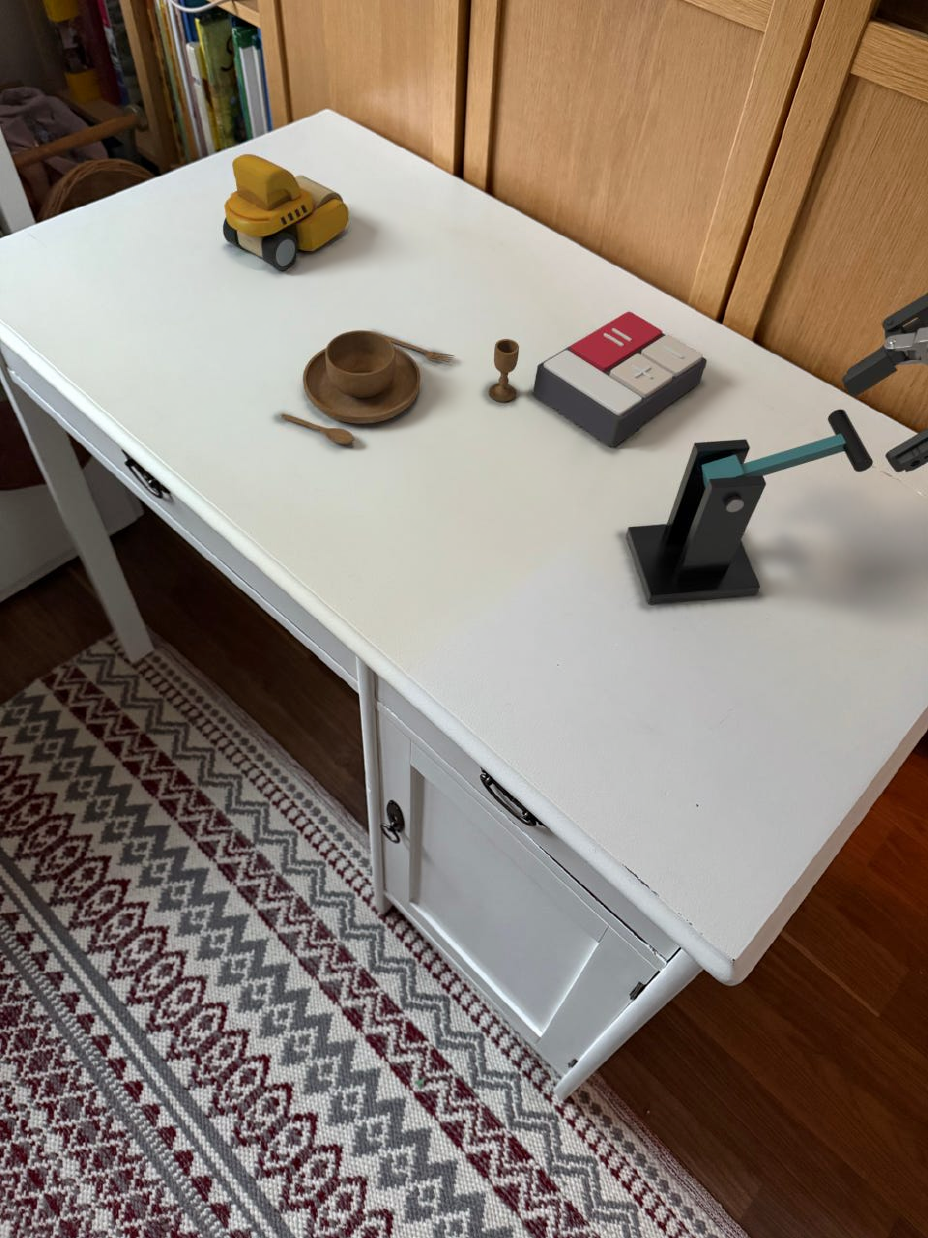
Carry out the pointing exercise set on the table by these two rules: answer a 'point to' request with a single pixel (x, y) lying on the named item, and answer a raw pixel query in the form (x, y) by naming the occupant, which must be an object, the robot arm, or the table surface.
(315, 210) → the toy roller
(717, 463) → the lever
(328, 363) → the place setting
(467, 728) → the table surface
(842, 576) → the table surface
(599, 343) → the calculator
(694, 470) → the bracket
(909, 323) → the robot arm
